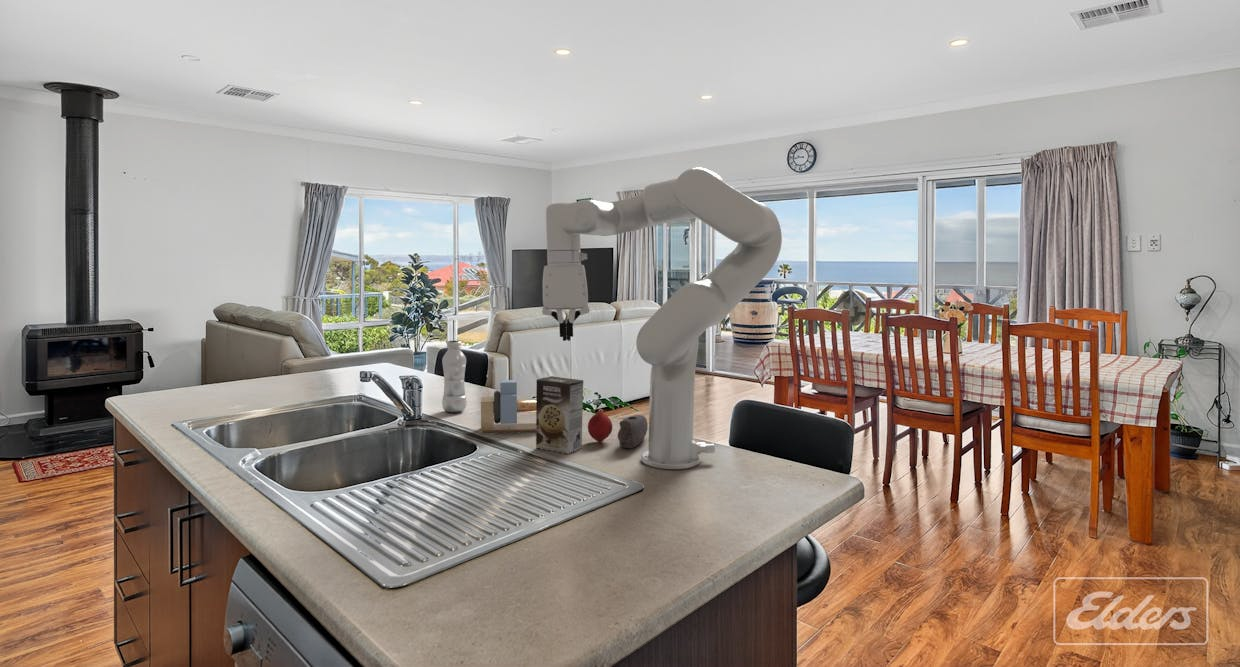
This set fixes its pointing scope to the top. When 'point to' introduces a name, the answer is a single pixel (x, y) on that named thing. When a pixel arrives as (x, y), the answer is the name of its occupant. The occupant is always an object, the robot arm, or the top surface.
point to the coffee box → (559, 414)
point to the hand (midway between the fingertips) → (566, 340)
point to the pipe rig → (490, 427)
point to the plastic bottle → (454, 378)
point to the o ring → (497, 407)
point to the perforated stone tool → (632, 431)
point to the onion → (599, 426)
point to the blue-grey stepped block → (508, 401)
